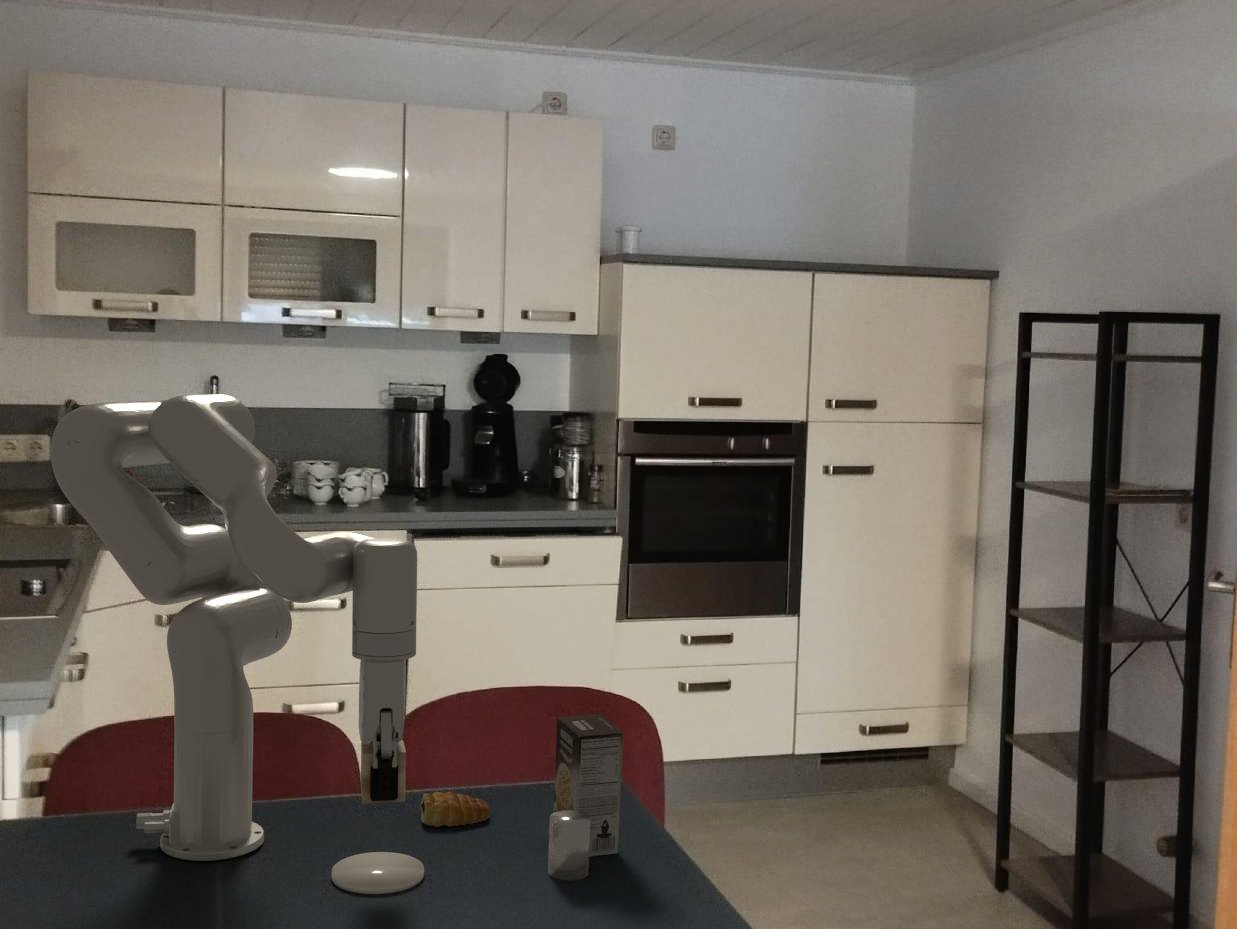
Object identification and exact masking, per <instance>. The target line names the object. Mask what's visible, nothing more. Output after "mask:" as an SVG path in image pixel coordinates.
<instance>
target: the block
mask: <svg viewBox="0 0 1237 929" xmlns="http://www.w3.org/2000/svg"><path fill="white" fill-rule="evenodd" d="M372 743H373V741H368V742H367V744H363V743H362V742H361V741H360V746H361V748H360V796H361V803H362V804H365V805H366V804H367V805H368V804H385V803H386V804H388V803H402V802H403V803H405V802H406V777H407V775H406V773H407V772H406V770H407V766H406V764H407V762H406V761H407V751H406V747H405V743H404V740H403V739H402V740H401V741H400V742H399V743H397V766H398V798H397V799H396V800H387V801H372V800H371V799H370V767H373V745H372ZM378 750H381V746H378Z"/></svg>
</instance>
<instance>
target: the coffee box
mask: <svg viewBox="0 0 1237 929" xmlns="http://www.w3.org/2000/svg"><path fill="white" fill-rule="evenodd" d="M556 721H557V722H556V738H555V739H556V742H555V744H556V746H555V761H554V762H555V764H554V765H555V769H554V770H555V771H554V791H553V792H554V795H553V800H554V801H553V813H554V812H558V811H563V810H574V811H580V812H584V813H586V814H588V815H589V816H590V818H591V819H590V845H589V858H591V857H597V856H598V857H599V856H607V855H616V854H618V853H619V836H620V835H619V830H620V812H621V811H620V810H621V809H620V808H621V791H622V790H621V789H622V788H621V786H622V773H623V772H622V768H623V766H622V765H623V750H624V748H623V744H624V732H623V731H621V729H619V728H618V727H616V726H615V725H614V724H613V723H612V722H611V721H610V720H608V719H607V718H606V717H605V716H604V715H603V714H602V713H593V714H583V715H579V714H578V715H569V716H559V717H557V718H556Z"/></svg>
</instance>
